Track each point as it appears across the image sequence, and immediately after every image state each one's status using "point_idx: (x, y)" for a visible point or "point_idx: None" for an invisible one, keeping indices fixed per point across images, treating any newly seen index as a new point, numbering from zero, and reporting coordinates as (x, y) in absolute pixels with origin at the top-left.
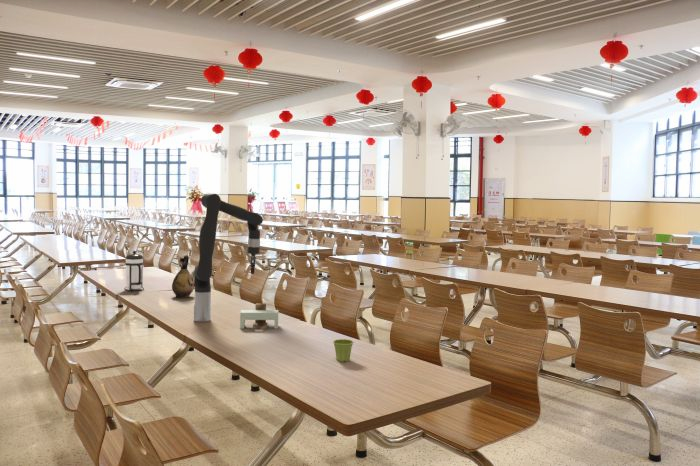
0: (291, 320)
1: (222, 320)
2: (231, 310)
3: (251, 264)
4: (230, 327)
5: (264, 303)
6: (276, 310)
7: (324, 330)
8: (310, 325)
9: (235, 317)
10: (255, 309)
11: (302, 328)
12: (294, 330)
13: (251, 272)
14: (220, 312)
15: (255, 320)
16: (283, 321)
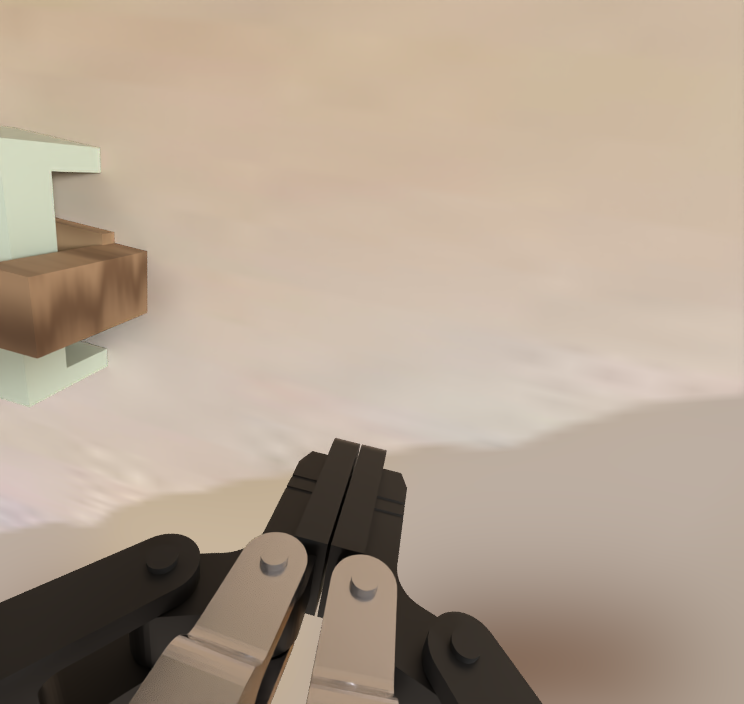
0: (222, 462)
1: (257, 9)
2: (654, 137)
3: (12, 617)
4: (41, 60)
5: (34, 345)
6: (15, 392)
7: (30, 518)
8: (115, 503)
9: (351, 138)
10: (20, 258)
11: (56, 453)
12: (14, 409)
13: (303, 460)
14: (599, 9)
15: (89, 248)
16: (201, 418)
